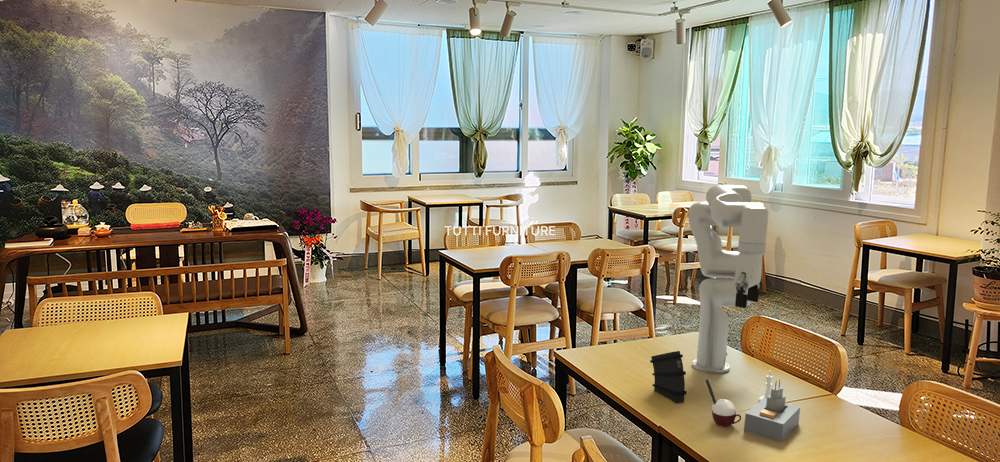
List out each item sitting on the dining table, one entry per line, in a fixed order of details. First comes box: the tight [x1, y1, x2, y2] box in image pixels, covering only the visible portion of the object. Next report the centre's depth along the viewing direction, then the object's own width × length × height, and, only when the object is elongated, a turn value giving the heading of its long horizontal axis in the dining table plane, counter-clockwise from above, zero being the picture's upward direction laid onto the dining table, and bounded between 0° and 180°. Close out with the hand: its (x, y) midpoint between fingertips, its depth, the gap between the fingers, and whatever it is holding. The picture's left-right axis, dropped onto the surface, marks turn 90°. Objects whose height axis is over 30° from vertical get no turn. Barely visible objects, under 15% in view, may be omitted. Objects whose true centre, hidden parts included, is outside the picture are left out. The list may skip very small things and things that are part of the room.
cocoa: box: [705, 377, 742, 427], centre depth 187 cm, size 10×6×12 cm
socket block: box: [743, 398, 801, 443], centre depth 186 cm, size 15×10×6 cm, turn 140°
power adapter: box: [766, 378, 787, 413], centre depth 188 cm, size 3×5×12 cm, turn 127°
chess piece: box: [758, 369, 774, 402], centre depth 204 cm, size 5×5×10 cm
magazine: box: [649, 350, 687, 404], centre depth 206 cm, size 4×13×15 cm, turn 26°
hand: (746, 304), depth 200 cm, fingers open, 9 cm apart
